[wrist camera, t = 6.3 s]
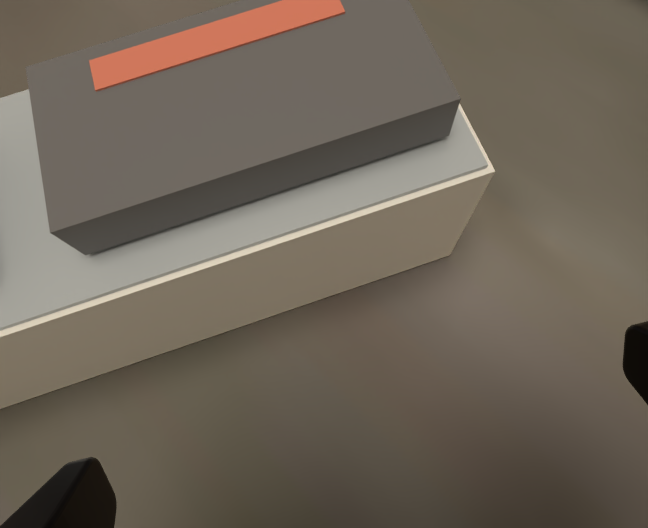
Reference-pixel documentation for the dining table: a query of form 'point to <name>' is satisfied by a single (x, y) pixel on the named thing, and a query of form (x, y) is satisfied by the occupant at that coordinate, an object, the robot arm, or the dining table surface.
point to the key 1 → (229, 111)
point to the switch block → (211, 257)
